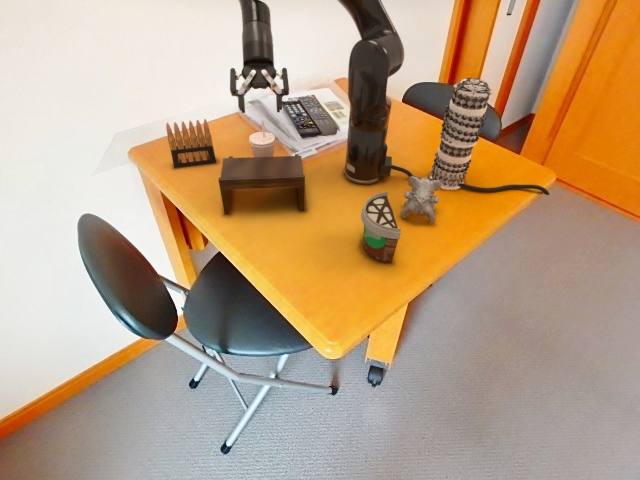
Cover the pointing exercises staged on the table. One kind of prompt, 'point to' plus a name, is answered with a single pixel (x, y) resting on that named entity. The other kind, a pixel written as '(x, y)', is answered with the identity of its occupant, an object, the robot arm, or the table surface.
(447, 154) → the white patterned cylinder
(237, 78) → the robot arm
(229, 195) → the stand
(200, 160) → the ammunition clip
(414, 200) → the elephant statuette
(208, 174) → the table surface
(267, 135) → the smoothie
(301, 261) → the table surface
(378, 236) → the food container
